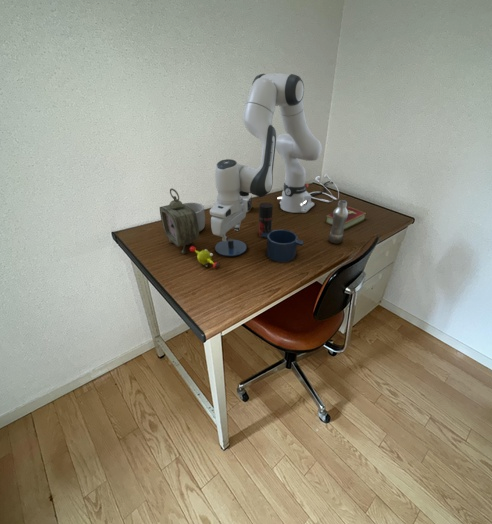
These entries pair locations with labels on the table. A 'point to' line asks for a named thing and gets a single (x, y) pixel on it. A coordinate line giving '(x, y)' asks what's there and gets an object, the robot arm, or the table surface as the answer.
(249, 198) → the medicine bottle
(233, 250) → the pot lid
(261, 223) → the deodorant
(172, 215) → the tabletop clock
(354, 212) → the hardcover book
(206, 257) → the toy figure
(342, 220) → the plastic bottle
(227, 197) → the robot arm
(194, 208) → the planter
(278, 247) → the pot
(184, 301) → the table surface
